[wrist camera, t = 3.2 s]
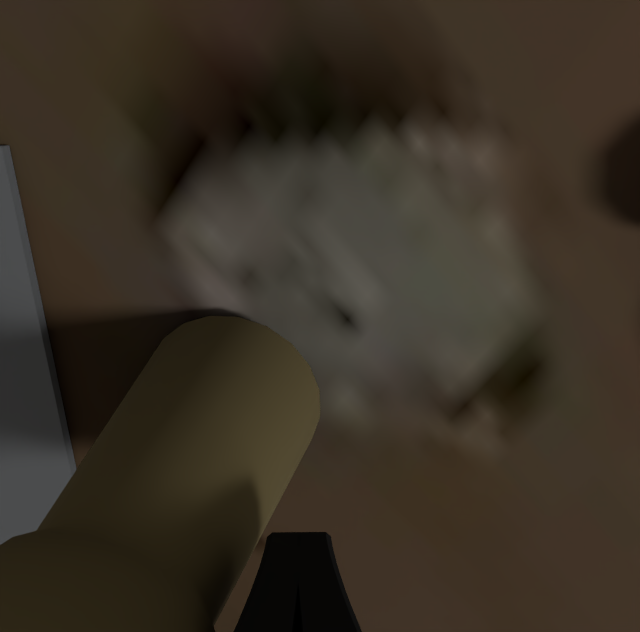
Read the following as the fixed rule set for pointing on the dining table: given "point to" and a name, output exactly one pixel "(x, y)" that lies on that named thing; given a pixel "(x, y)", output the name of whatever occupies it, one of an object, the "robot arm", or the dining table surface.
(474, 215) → the dining table surface
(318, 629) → the robot arm
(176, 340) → the cork
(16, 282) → the mat
